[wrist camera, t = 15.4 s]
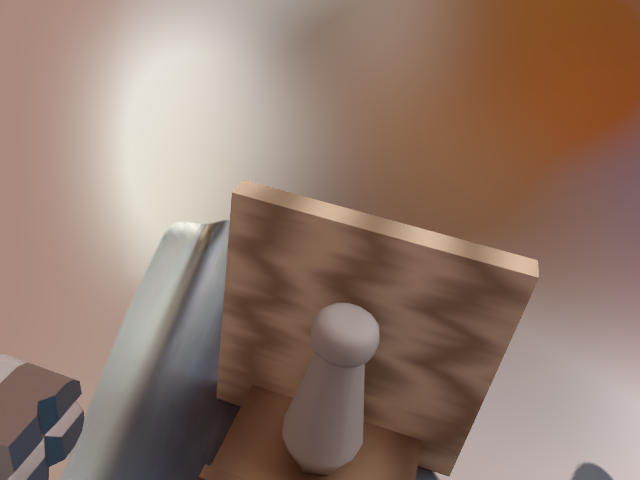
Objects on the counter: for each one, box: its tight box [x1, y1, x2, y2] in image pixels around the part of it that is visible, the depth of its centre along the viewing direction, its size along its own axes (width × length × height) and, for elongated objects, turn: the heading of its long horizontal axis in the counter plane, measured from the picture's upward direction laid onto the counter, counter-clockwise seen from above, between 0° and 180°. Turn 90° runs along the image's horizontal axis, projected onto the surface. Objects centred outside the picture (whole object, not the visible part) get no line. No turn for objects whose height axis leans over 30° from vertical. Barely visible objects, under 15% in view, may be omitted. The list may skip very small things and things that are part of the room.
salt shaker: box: [282, 303, 379, 476], centre depth 39 cm, size 6×6×13 cm
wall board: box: [216, 180, 539, 476], centre depth 43 cm, size 20×2×20 cm, turn 74°
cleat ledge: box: [198, 385, 422, 480], centre depth 42 cm, size 14×10×4 cm
